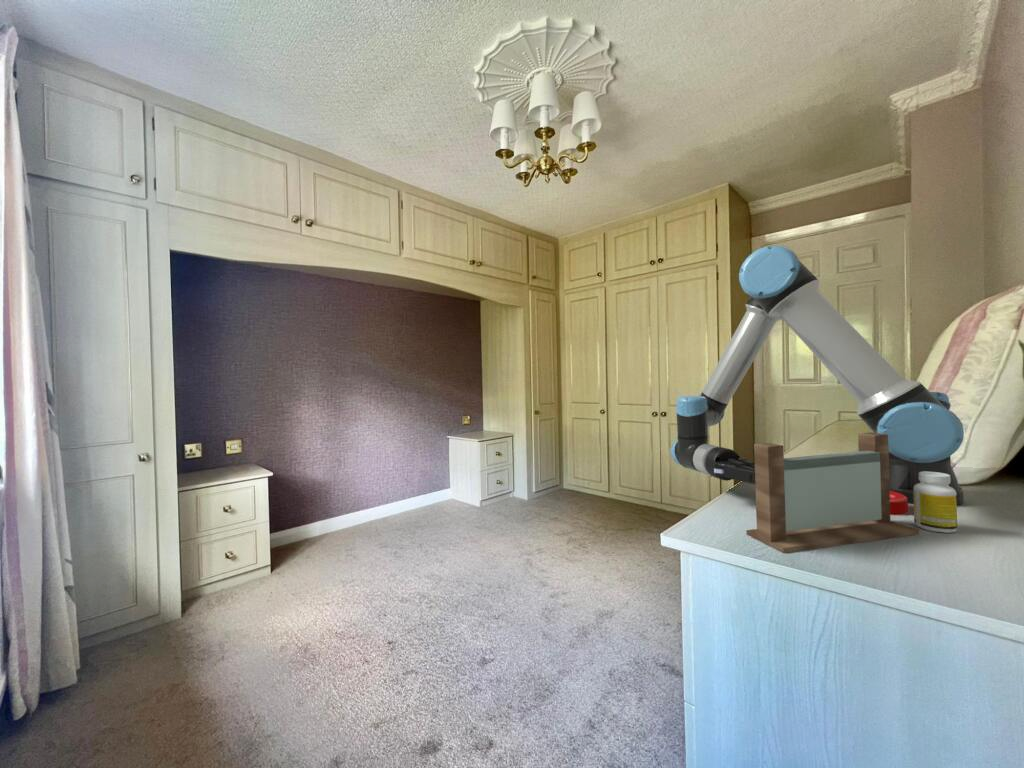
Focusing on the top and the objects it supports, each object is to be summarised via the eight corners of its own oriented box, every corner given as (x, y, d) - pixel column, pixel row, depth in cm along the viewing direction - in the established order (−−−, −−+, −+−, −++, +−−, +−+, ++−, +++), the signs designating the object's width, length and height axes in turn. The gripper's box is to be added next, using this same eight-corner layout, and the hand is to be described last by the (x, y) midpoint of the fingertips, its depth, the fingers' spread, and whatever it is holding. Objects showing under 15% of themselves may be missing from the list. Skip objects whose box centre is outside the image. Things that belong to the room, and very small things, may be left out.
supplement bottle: (966, 534, 71) (965, 477, 71) (929, 533, 72) (928, 477, 72) (940, 523, 76) (939, 470, 76) (906, 522, 77) (905, 470, 77)
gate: (870, 515, 76) (868, 450, 76) (881, 519, 74) (879, 452, 74) (776, 527, 72) (773, 459, 72) (785, 531, 70) (783, 461, 70)
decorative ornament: (834, 504, 90) (834, 489, 90) (869, 499, 92) (869, 485, 92) (882, 518, 80) (882, 502, 80) (920, 512, 82) (920, 497, 82)
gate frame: (870, 518, 80) (868, 432, 79) (918, 534, 72) (916, 437, 71) (746, 534, 74) (743, 441, 74) (783, 552, 67) (780, 449, 66)
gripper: (741, 475, 102) (831, 502, 79) (693, 479, 100) (771, 509, 76) (740, 444, 102) (830, 463, 79) (692, 448, 99) (770, 469, 76)
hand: (801, 486), depth 78 cm, fingers closed
